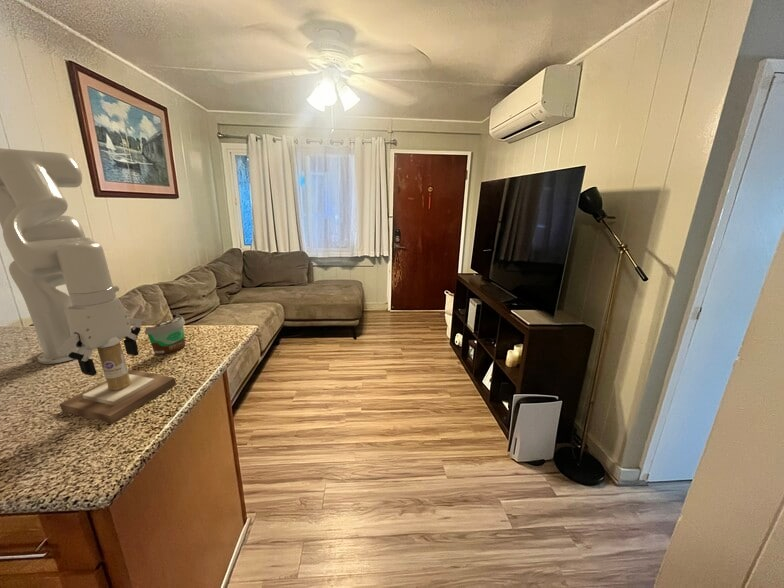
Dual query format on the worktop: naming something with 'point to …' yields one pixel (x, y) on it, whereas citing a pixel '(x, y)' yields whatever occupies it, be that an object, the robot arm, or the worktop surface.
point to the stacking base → (118, 397)
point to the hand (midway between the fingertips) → (112, 363)
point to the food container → (167, 336)
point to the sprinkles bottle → (114, 365)
